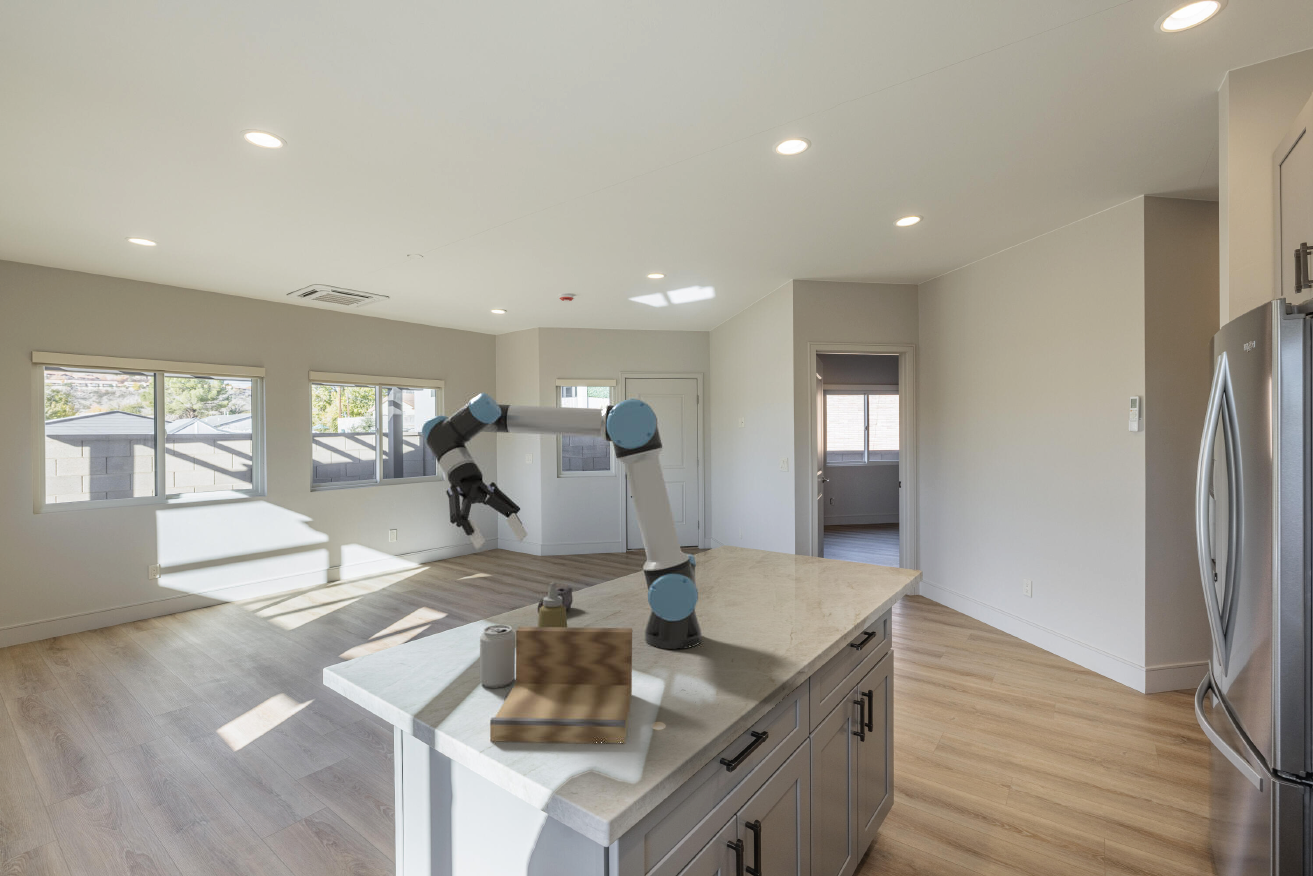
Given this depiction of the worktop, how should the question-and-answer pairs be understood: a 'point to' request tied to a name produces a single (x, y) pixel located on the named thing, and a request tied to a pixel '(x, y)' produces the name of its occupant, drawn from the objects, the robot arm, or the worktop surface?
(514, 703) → the wooden l-shaped piece
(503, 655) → the can
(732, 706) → the worktop surface
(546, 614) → the squeeze bottle
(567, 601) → the perforated stone tool
